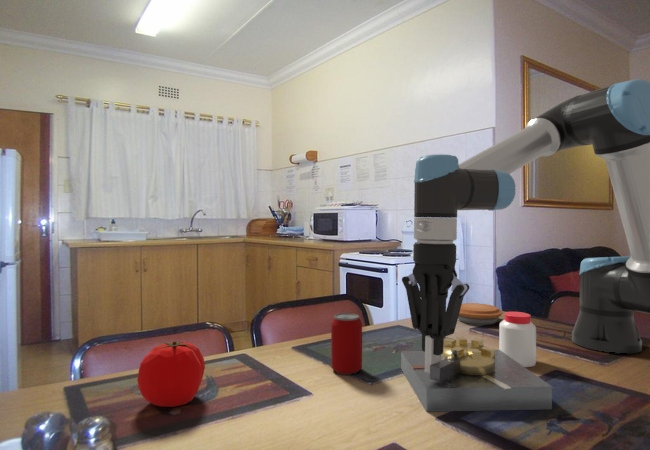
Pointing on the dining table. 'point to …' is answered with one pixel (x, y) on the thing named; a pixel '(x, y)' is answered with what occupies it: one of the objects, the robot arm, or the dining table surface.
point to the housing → (478, 387)
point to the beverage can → (346, 343)
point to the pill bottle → (518, 338)
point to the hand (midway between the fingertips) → (432, 370)
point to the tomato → (171, 374)
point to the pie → (479, 314)
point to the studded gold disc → (463, 359)
